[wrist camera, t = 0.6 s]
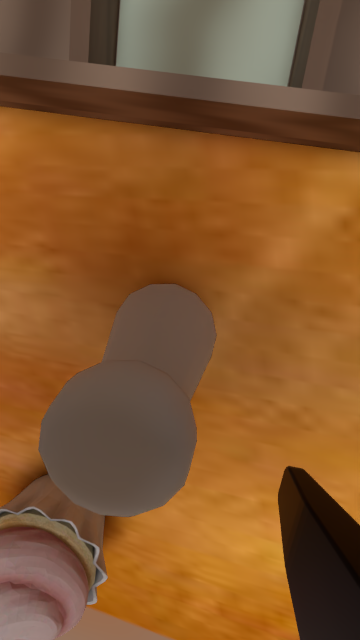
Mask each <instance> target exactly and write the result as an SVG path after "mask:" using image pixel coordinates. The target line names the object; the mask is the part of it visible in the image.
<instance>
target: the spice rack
mask: <svg viewBox="0 0 360 640" xmlns="http://www.w3.org/2000/svg"><path fill="white" fill-rule="evenodd" d="M0 106H4V107H12V108H20V109H28V110H36V111H43V112H51V113H59V114H67V115H75V116H82V117H90V118H98V119H106V120H114V121H121V122H129V123H137V124H145V125H153V126H160V127H168V128H176V129H184V130H192V131H199V132H207V133H215V134H223V135H231V136H238V137H246V138H254V139H262V140H270V141H277V142H285V143H293V144H301V145H309V146H316V147H324V148H332V149H340V150H348V151H355V152H360V0H0Z"/></svg>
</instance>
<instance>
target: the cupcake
mask: <svg viewBox="0 0 360 640" xmlns="http://www.w3.org/2000/svg"><path fill="white" fill-rule="evenodd" d="M104 522H105V515H100V514H97V513H95V512H93V511H90V510H88V509H86V508H83V507H81V506H79V505H76V504H74V503H73V502H72V501H71V500H70V499H69V498H68V497H67V496H66V495H65V494H64V493H63V492H62V491H61V490H60V489H59V488H58V487H57V486H56V485H55V484H54V482H53V481H52V479H51V478H50V476H49V474H47V475H44V476H42V477H40V478H38V479H36V480H34V481H33V482H32V483H31V484H30V485H29V486H27V487H26V488H25V489H24V490H23V491H22V492H21V493H20V494H19V495H17V496H16V497H15V498H14V499H13V500H11V501H10V502H9V503H7V504H6V505H4V506H2V507H0V640H54V639H55V638H57V637H59V636H61V635H63V634H65V633H66V632H68V631H69V630H70V629H72V628H73V627H74V626H75V625H76V624H77V623H78V622H79V621H80V619H81V617H82V615H83V613H84V610H85V608H86V605H88V604H94V603H96V602H97V586H98V585H100V584H102V583H103V582H105V581H106V579H107V578H108V577H107V572H106V567H105V561H104V556H103V551H102V550H103V531H104Z"/></svg>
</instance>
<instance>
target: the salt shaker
mask: <svg viewBox="0 0 360 640" xmlns="http://www.w3.org/2000/svg"><path fill="white" fill-rule="evenodd" d="M216 336H217V335H216V330H215V326H214V321H213V317H212V313H211V311H210V310H209V309H208V308H207V306H206V305H205V304H204V303H203V302H202V300H201V299H200V298H199V297H198V295H197V294H195V293H193V292H191V291H189V290H187V289H185V288H183V287H181V286H179V285H177V284H150V285H148V286H146V287H144V288H142V289H139V290H137V291H135V292H133V293H131V294H129V296H128V297H127V298H126V300H125V301H124V303H123V304H122V306H121V307H120V308H119V310H118V311H117V313H116V316H115V320H114V323H113V326H112V330H111V333H110V336H109V339H108V343H107V346H106V349H105V353H104V356H103V359H102V362H101V363H99V364H97V365H95V366H92V367H90V368H88V369H85V370H83V371H81V372H79V373H77V374H76V375H75V376H73V377H72V378H71V379H70V380H69V381H68V382H67V383H66V384H65V386H64V387H63V388H62V390H61V391H60V393H59V394H58V395H57V397H56V398H55V399H54V401H53V402H52V404H51V405H50V407H49V408H48V410H47V412H46V414H45V416H44V418H43V420H42V423H41V432H40V441H39V449H38V450H39V452H40V455H41V457H42V459H43V462H44V464H45V466H46V469H47V471H48V474H49V476H50V478H51V479H52V481H53V482H54V484H55V485H56V486H57V487H58V488H59V489H60V490H61V491H62V492H63V493H64V494H65V495H66V496H67V497H68V498H69V499H70V500H71V501H72V502H73V503H74V504H76V505H79V506H81V507H83V508H86V509H88V510H90V511H93V512H95V513H97V514H100V515H108V516H121V517H131V516H135V515H138V514H141V513H144V512H147V511H149V510H152V509H155V508H158V507H161V506H163V505H165V504H166V503H167V502H168V501H169V500H170V499H171V498H172V497H173V496H174V495H175V494H176V493H177V492H178V491H179V490H180V489H181V488H182V487H183V486H184V484H185V481H186V479H187V476H188V473H189V470H190V466H191V462H192V458H193V454H194V450H195V446H196V442H197V428H196V424H195V420H194V416H193V412H192V408H191V403H190V400H191V398H192V396H193V394H194V392H195V390H196V388H197V386H198V383H199V381H200V379H201V377H202V375H203V373H204V371H205V369H206V367H207V364H208V362H209V360H210V358H211V355H212V351H213V348H214V344H215V340H216Z"/></svg>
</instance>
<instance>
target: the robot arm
mask: <svg viewBox="0 0 360 640" xmlns="http://www.w3.org/2000/svg"><path fill="white" fill-rule="evenodd" d="M278 505H279V515H280V524H281V534H282V543H283V553H284V561H285V568H286V574H287V579H288V584H289V588H290V593H291V598H292V603H293V608H294V612H295V617H296V622H297V627H298V632H299V636H300V640H360V525H359V524H358V523H357V522H356V521H355V520H354V519H353V518H352V517H351V516H350V515H349V514H348V513H347V512H346V511H345V510H344V509H343V508H342V507H341V506H340V505H339V504H338V503H337V502H336V501H335V500H334V499H333V498H332V497H331V496H330V495H329V494H328V493H327V492H326V491H325V490H324V489H323V488H322V487H321V486H320V485H319V484H318V483H317V482H316V481H315V480H314V479H313V478H312V477H311V476H310V475H309V474H308V473H307V472H306V471H305V470H304V469H302V468H297V467H292V466H288V467H286V469H285V471H284V474H283V478H282V481H281V485H280V488H279V492H278Z"/></svg>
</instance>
